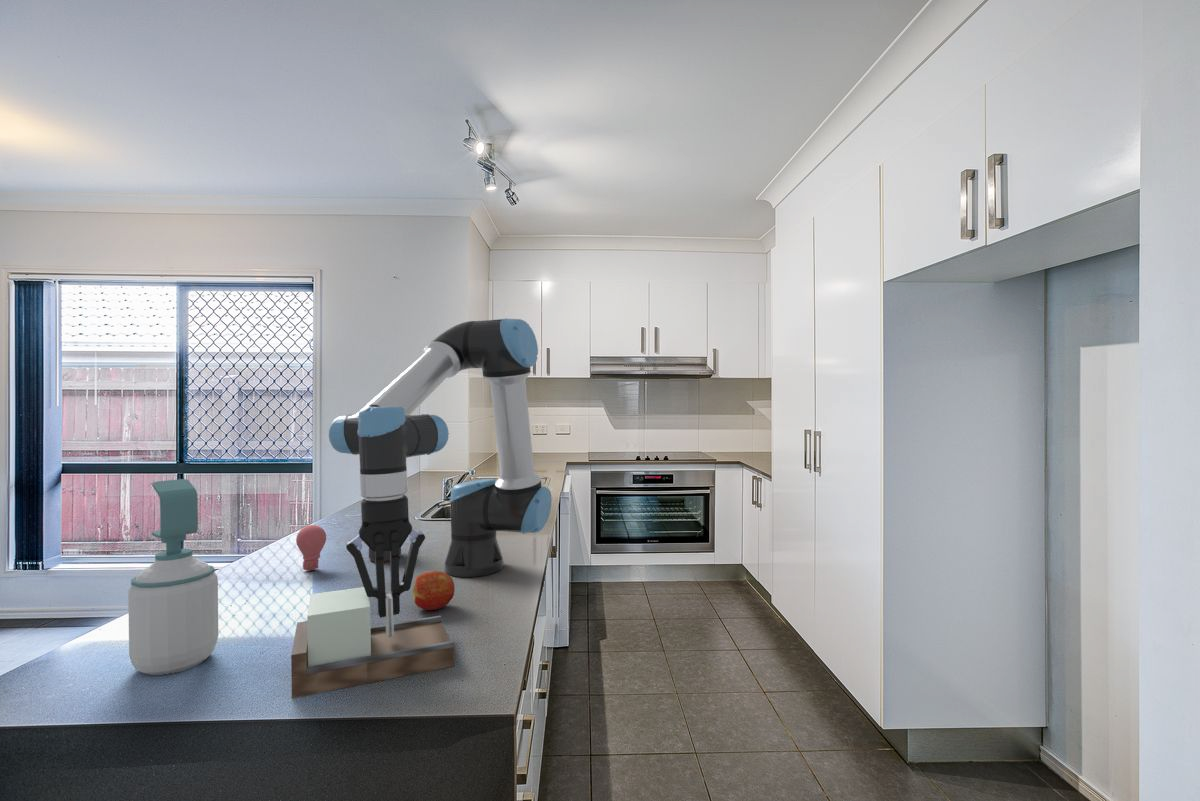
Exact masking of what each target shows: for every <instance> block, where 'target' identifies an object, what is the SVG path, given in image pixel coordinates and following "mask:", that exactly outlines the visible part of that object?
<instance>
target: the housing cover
mask: <svg viewBox="0 0 1200 801" xmlns="http://www.w3.org/2000/svg"><path fill="white" fill-rule="evenodd" d="M370 603H371V602H370V597H368V596H367V595H366V592H365V589H364V586H360V587H355V588H354V587H353V588H347V589H340V590H331V591H324V592H318V593H317V592H316V593H310V596H309V601H308V610H307V614H306V615H307V620H306V621H307V629H308V667H311V666H316V665H322V664H327V663H333V662H338V661H344V660H349V659H355V658H360V657H366V656H371V627H372V626H371V604H370Z"/></svg>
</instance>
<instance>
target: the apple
mask: <svg viewBox="0 0 1200 801" xmlns="http://www.w3.org/2000/svg"><path fill="white" fill-rule="evenodd" d="M455 591H456V590H455V582H454V580H453V578H452V577H451V575H449V574H447V573H445V571H444V572H443V571H440V570H428V571H425V572H423V573H420V574H419V575H418V576H417V577H416V578H415V580H414V583H413V587H412V598H413V601H414V603H415V605H416V606H417V608H420V609H422V610H426V611H435V610H439V609H441V608H444V607H445V606H446V607H447V605H448V604H450V602H451V600H452V599H453V598H454V596H455Z"/></svg>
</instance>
